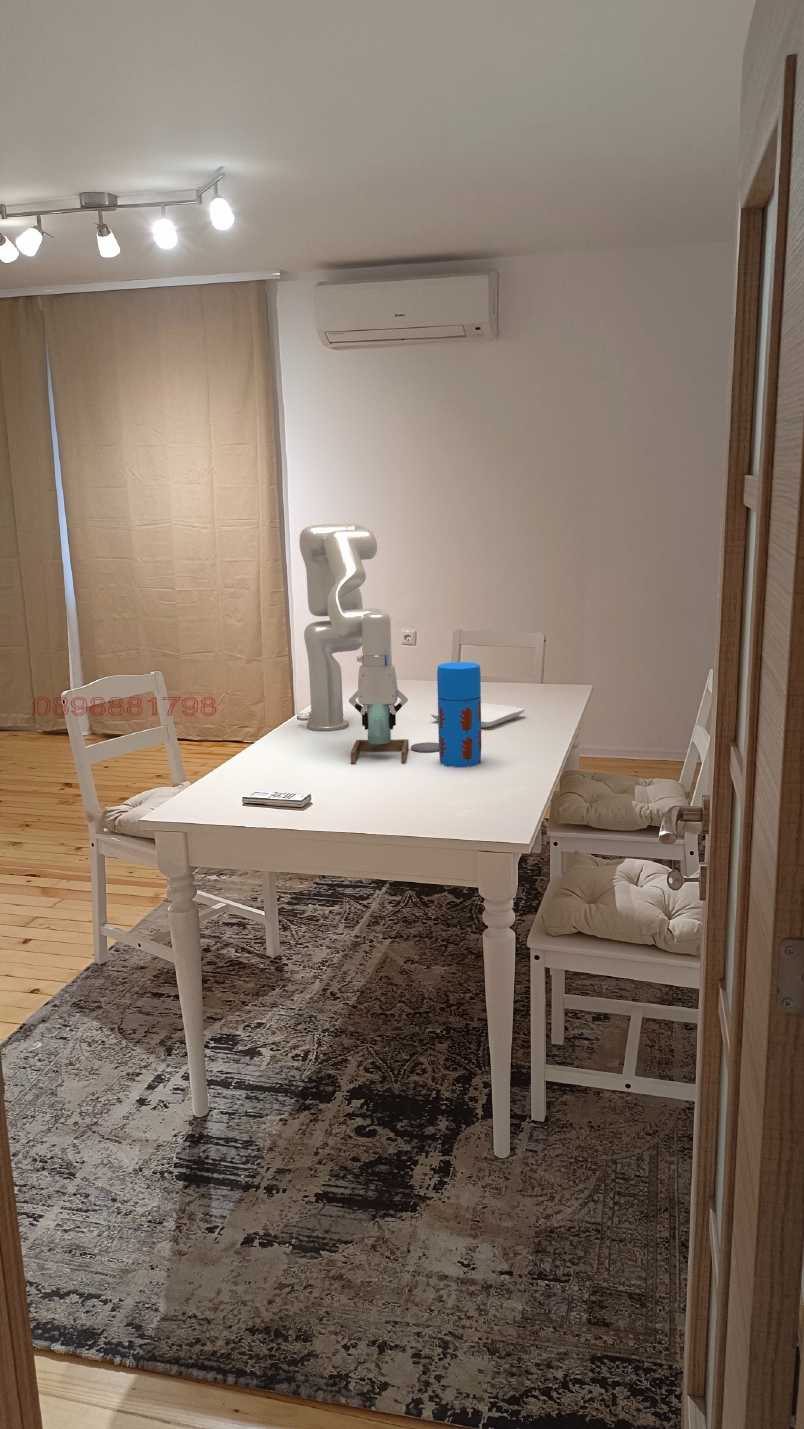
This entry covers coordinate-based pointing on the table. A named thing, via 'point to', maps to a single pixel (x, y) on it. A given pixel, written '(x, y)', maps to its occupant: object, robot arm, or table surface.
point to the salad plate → (494, 714)
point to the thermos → (459, 713)
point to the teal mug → (378, 723)
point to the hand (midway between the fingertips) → (379, 727)
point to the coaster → (425, 747)
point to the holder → (380, 748)
